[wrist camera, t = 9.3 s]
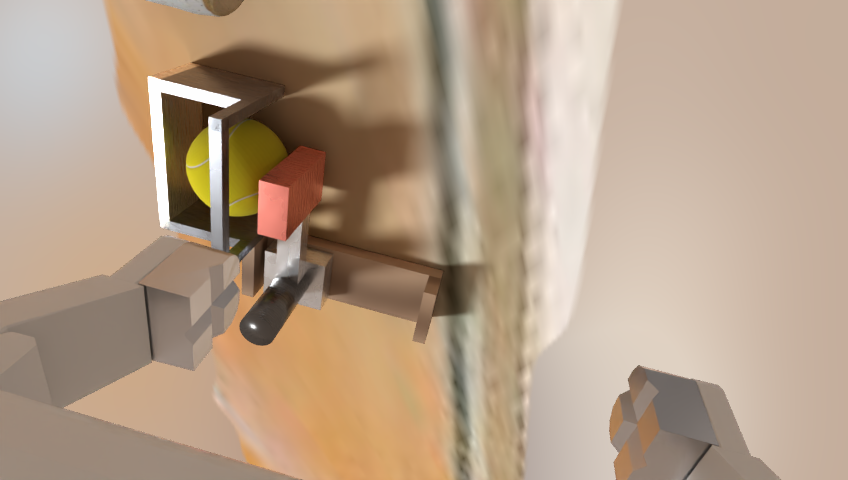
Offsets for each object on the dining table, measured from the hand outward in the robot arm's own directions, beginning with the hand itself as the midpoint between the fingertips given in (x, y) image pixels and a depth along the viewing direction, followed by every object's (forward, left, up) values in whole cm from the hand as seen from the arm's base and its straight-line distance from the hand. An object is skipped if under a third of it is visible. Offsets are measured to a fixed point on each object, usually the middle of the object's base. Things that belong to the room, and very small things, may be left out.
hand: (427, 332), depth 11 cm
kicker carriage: (+15, -12, -27) cm, 33 cm away
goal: (+11, -19, -28) cm, 36 cm away
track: (+20, -8, -28) cm, 36 cm away
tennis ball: (+11, -17, -29) cm, 35 cm away
